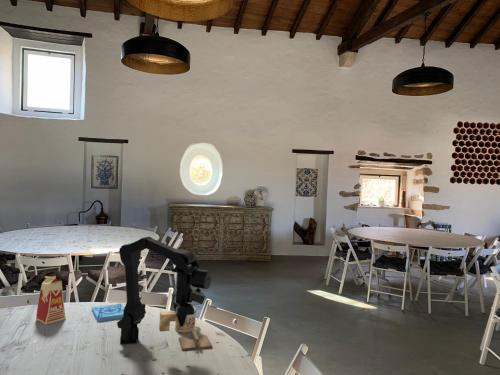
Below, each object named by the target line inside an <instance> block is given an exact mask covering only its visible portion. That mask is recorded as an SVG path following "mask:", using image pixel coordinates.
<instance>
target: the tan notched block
mask: <svg viewBox="0 0 500 375" xmlns="http://www.w3.org/2000/svg"><path fill="white" fill-rule="evenodd" d="M176 321H177V325H176V328H177V330H187V316H186V319H185V322H184V325H183V327H180V324H179V321H178V318H177V315H176V312H175V310H173V311H170V310H167V311H160V312H159V324H158V325H159V326H158V329H159V332H169V331H170V328H171V327H170V326H171V322H172V323H173V322H176Z"/></svg>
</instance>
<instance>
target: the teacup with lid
mask: <svg viewBox="0 0 500 375" xmlns="http://www.w3.org/2000/svg"><path fill="white" fill-rule="evenodd" d="M193 307H194V314H193V315H187V330H177V328H176V325H177V321H174V322H175V324H174V326H175V327H174V329H175V331H176V332H178V333H183V334H185V333H186V334H187V333H192V330H196V329H195V328H196V327H195V326H196V315H197V314H196V313H197V308H196V307H195V306H193Z"/></svg>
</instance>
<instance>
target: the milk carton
mask: <svg viewBox="0 0 500 375" xmlns="http://www.w3.org/2000/svg"><path fill="white" fill-rule="evenodd" d="M44 278H45V279H44V281H43V282H41V287H40V289H39V290H40V291H39V295H38V302H37V308H36V315H35V320H36V321H38V322H40V323H43V324H44V325H49V324H52V323H56V322H60V321H63V320H66V311H65V310H66V309H65V303H64V302H65V301H64V293H63V284H62V283H63V281H62V280H60V279H58V278H57V275H54V276H44Z"/></svg>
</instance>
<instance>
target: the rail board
mask: <svg viewBox="0 0 500 375" xmlns="http://www.w3.org/2000/svg"><path fill="white" fill-rule="evenodd" d="M178 341H179V344H180V348H181V350H182V351H189V350H190V351H191V350H203V349H204V350H205V349H212V348H213V345H212V344H211V341H210V339H209V337H208V335H198V332H197V331H196V329H194V330H192V332H191V336H179V337H178Z"/></svg>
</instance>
